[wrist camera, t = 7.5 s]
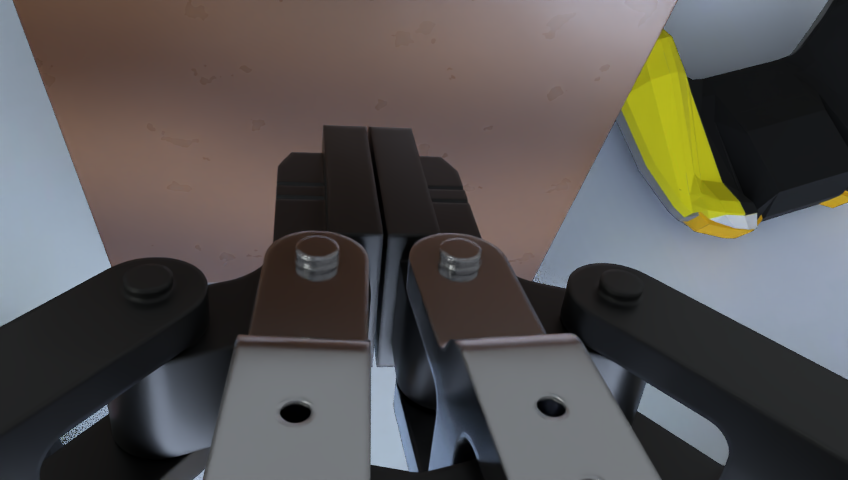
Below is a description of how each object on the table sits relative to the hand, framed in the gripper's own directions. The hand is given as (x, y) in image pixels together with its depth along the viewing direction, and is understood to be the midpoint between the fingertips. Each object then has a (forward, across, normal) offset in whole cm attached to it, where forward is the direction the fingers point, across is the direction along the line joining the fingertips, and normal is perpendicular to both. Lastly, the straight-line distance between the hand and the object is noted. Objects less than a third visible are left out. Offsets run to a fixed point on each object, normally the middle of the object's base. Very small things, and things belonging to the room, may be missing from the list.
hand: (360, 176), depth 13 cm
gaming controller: (+21, -21, +8) cm, 31 cm away
